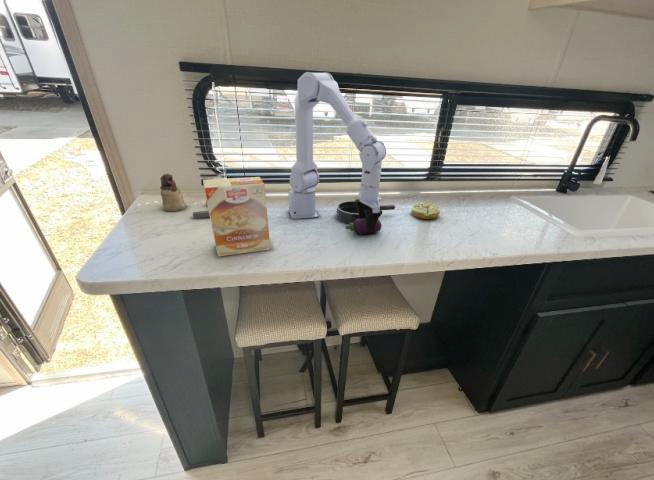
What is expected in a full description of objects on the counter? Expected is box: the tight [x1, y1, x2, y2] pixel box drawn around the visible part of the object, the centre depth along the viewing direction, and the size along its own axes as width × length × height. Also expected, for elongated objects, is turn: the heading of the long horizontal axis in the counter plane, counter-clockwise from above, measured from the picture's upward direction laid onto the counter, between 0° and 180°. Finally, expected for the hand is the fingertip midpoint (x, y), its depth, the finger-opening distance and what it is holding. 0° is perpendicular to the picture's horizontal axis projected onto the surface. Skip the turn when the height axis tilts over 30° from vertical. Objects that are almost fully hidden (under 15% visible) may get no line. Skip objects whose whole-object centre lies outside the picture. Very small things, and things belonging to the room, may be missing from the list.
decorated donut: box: [410, 201, 441, 220], centre depth 127 cm, size 10×11×4 cm
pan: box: [336, 200, 370, 225], centre depth 121 cm, size 13×13×4 cm
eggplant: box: [345, 218, 382, 235], centre depth 111 cm, size 12×5×5 cm, turn 107°
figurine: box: [159, 172, 186, 212], centre depth 116 cm, size 7×7×12 cm
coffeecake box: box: [202, 176, 271, 258], centre depth 93 cm, size 15×7×20 cm, turn 114°
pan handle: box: [379, 204, 396, 211], centre depth 124 cm, size 10×2×2 cm, turn 108°
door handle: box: [192, 199, 210, 219], centre depth 118 cm, size 3×20×16 cm
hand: (366, 225), depth 111 cm, fingers open, 7 cm apart
